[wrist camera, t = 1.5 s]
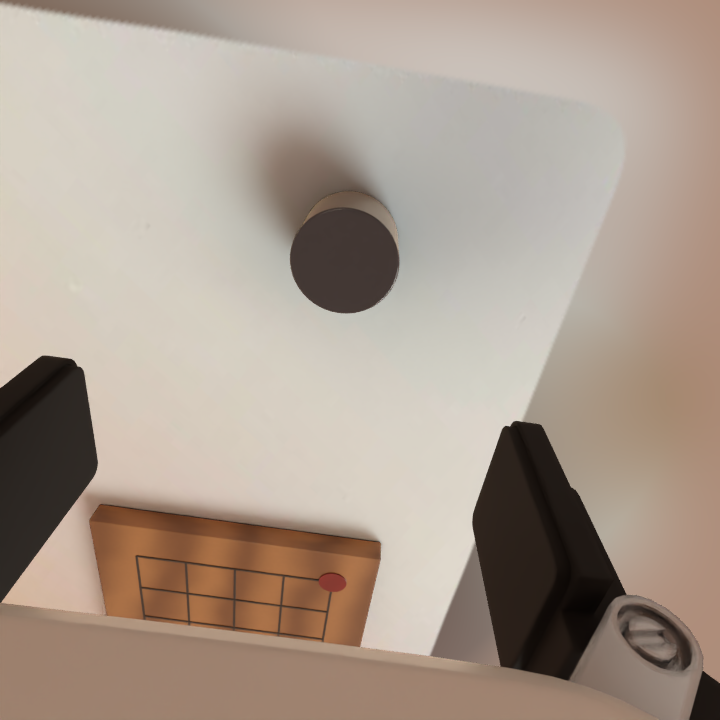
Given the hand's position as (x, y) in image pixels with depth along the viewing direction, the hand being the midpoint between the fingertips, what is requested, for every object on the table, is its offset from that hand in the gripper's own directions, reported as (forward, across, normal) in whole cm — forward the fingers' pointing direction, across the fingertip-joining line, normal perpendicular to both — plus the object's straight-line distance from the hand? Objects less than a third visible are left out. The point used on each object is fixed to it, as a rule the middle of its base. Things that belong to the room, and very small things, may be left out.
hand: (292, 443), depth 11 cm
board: (+16, +5, +31) cm, 35 cm away
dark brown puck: (+16, 0, 0) cm, 16 cm away
